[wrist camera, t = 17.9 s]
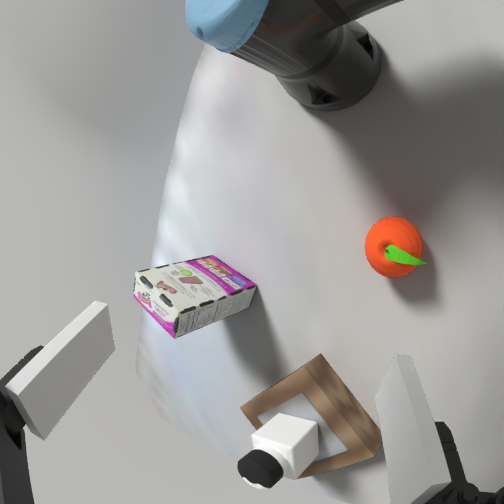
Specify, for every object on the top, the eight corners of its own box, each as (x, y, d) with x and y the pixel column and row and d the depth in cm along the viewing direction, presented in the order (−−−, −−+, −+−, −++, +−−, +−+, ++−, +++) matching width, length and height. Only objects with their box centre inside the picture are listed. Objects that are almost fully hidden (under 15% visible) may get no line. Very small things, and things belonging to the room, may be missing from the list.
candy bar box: (207, 277, 58) (131, 296, 45) (213, 254, 56) (134, 269, 43) (250, 309, 52) (173, 340, 39) (258, 284, 50) (178, 311, 37)
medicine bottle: (278, 411, 44) (227, 451, 35) (318, 420, 39) (269, 469, 30) (282, 443, 44) (235, 484, 35) (319, 453, 40) (275, 501, 30)
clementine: (441, 229, 31) (436, 234, 26) (422, 283, 33) (413, 298, 28) (382, 208, 36) (366, 208, 30) (367, 259, 38) (348, 269, 32)
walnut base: (256, 395, 54) (238, 408, 50) (320, 353, 44) (303, 368, 40) (310, 463, 48) (295, 480, 44) (385, 436, 38) (373, 457, 34)
